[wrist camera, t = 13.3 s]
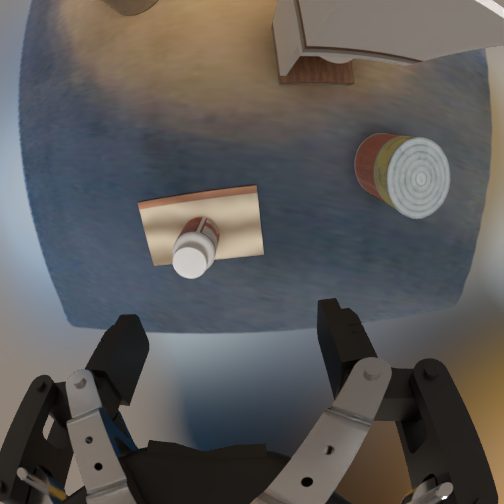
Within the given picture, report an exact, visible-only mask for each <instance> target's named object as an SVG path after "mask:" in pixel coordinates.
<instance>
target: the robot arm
mask: <svg viewBox="0 0 504 504" xmlns="http://www.w3.org/2000/svg"><path fill="white" fill-rule="evenodd" d="M102 1H103V2H104V3H106V4H107V5H109V6H110V7H111V8H113V9H114V10H116V11H117V12H118V13H120V14H122V15H135V14H139V13H141V12H143V11H145V10H147V9H149V8H150V7H151V6H153V5H154V4H155V3H156V2H157V1H158V0H102ZM317 335H318V341H319V345H320V348H321V352H322V356H323V359H324V363H325V366H326V370H327V374H328V378H329V381H330V385H331V389H332V393H333V397H334V400H335V402H334V403H333V405H332V406H331V408H327V409H326V410H325V411H324V413H323V414H322V416H321V417H320V419H319V420H318V422H317V423H316V425H315V426H314V428H313V429H312V431H311V432H310V434H309V435H308V436H307V438H306V439H305V441H304V442H303V444H302V445H301V446H300V448H299V449H298V450H297V452H296V453H295V455H294V456H293V457H290V456H287V455H284V454H281V453H277V452H273V451H267V446H266V444H253V445H234V446H229V447H224V448H219V449H214V450H210V451H200V450H196V449H193V448H189V447H186V446H183V445H180V444H177V443H170V442H161V441H153V440H149V443H148V447H145V448H141V449H138V447H137V446H136V445H135V443H134V441H133V439H132V437H131V435H130V433H129V431H128V428H127V426H126V424H125V422H124V420H123V417H122V415H121V413H120V411H119V410H118V408H119V405H126V406H130V403H131V399H132V397H133V394H134V391H135V388H136V385H137V382H138V379H139V376H140V374H141V371H142V368H143V366H144V363H145V360H146V358H147V355H148V352H149V341H148V338H147V336H146V333H145V331H144V329H143V326H142V324H141V321H140V319H139V317H138V316H137V315H136V314H128V315H120V316H119V318H118V320H117V322H116V323H115V325H112V326H111V327H110V328H109V329H108V330H107V331H106V332H105V333H104V335H103V337H102V338H101V342H99V344H98V346H97V348H96V349H95V351H94V353H93V355H92V356H91V358H90V360H89V362H88V364H87V366H86V368H85V369H81V370H77V371H75V372H74V373H72V374H71V375H70V376H69V377H68V379H67V381H66V382H61V383H54V381H53V380H52V379H51V377H49V376H48V375H41V376H39V377H37V378H36V379H35V380H34V381H33V382H32V383H31V385H30V387H29V389H28V391H27V393H26V394H25V396H24V398H23V401H22V402H21V404H20V407H19V409H18V411H17V413H16V415H15V417H14V419H13V422H12V424H11V426H10V428H9V431H8V433H7V435H6V438H5V441H4V443H3V445H2V448H1V451H0V502H2V503H4V504H353V503H351V502H350V501H348V500H347V499H346V498H344V497H343V496H342V495H340V494H339V493H338V492H336V491H335V488H336V487H337V485H338V483H339V482H340V480H341V479H342V477H343V476H344V474H345V472H346V470H347V469H348V467H349V466H350V464H351V462H352V460H353V458H354V457H355V455H356V453H357V451H358V449H359V447H360V445H361V444H362V442H363V440H364V438H365V436H366V434H367V432H368V430H369V428H370V426H371V424H372V421H373V420H375V421H395V423H396V426H397V429H398V433H399V437H400V440H401V444H402V447H403V452H404V455H405V459H406V463H407V467H408V472H409V476H410V480H411V485H412V491H410V492H409V493H408V494H407V495H406V496H405V497H404V498H403V500H402V502H401V504H498V494H497V491H496V487H495V483H494V480H493V476H492V473H491V470H490V467H489V464H488V461H487V458H486V456H485V452H484V450H483V447H482V444H481V442H480V439H479V437H478V434H477V432H476V429H475V427H474V424H473V422H472V420H471V418H470V415H469V413H468V411H467V409H466V406H465V404H464V402H463V400H462V398H461V396H460V394H459V392H458V390H457V388H456V386H455V384H454V382H453V380H452V378H451V376H450V374H449V372H448V370H447V368H446V367H445V365H444V364H443V363H441V362H440V361H438V360H436V359H423V360H421V361H419V362H418V363H417V364H416V365H415V367H414V369H398V368H392V367H390V366H389V364H388V363H387V362H385V361H384V360H382V359H380V358H378V357H377V355H376V353H375V350H374V348H373V346H372V344H371V342H370V340H369V338H368V336H367V334H366V332H365V330H364V327H363V325H361V321H360V319H359V317H358V315H357V314H356V313H355V312H353V311H352V310H351V309H350V308H345V309H341V308H340V305H339V303H338V301H337V299H336V298H331V299H324V300H319V301H318V314H317ZM48 415H50V416H51V417H52V418H53V419H54V423H53V425H52V428H51V430H50V433H49V436H48V438H47V440H46V439H45V438H44V436H43V427H44V425H45V422H46V420H47V418H48ZM73 453H74V454H75V458H76V461H77V464H78V467H79V470H80V473H81V476H82V479H83V482H84V486H83V487H82V488H80V489H79V490H77V491H76V492H75V493H73V494H72V495H71V496H68V495H66V493H65V489H64V487H65V483H66V479H67V475H68V471H69V467H70V464H71V460H72V457H73Z"/></svg>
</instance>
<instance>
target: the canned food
mask: <svg viewBox="0 0 504 504" xmlns="http://www.w3.org/2000/svg"><path fill="white" fill-rule="evenodd" d="M354 169H355V174H356V177H357V180H358V182H359V183H360V185H361V186H362V187H363V189H364V190H366V191H367V192H368V193H370V194H372V195H374V196H376V197H377V198H379V199H381V200H382V201H384V202H386V203H387V204H389V205H390V206H392V207H393V208H395V209H396V210H398V211H399V212H400V213H401V214H403V215H405V216H406V217H409V218H413V219H421V218H425V217H428V216H430V215H431V214H433V213H434V212H435V211H437V210H438V209H439V207H440V206H441V205H442V203H443V202H444V200H445V198H446V196H447V193H448V190H449V186H450V168H449V163H448V160H447V158H446V156H445V154H444V152H443V151H442V149H441V148H440V147H439V146H438V145H437V144H436V143H435V142H433V141H431V140H429V139H427V138H422V137H410V136H402V135H393V134H387V133H376V134H373V135H371V136H369V137H367V138H366V139H365V140H364V141H363V142H362V143H361V144H360V146H359V147H358V149H357V152H356V155H355V160H354Z"/></svg>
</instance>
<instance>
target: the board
mask: <svg viewBox="0 0 504 504" xmlns="http://www.w3.org/2000/svg"><path fill="white" fill-rule="evenodd" d="M138 206H139V210H140V214H141V218H142V222H143V226H144V230H145V234H146V238H147V242H148V246H149V249H150V253H151V256H152V260H153V264H154V266H156V265H166V264H173V246H174V244H175V242H176V240H177V238H178V236H179V235H180V233H181V231H182V230H183V228H184V226H185V225H186V223H187V222H188V221H189V220H191V219H192V218H195V217H200V216H202V217H207V218H210V219H211V220H213V221H214V222H215V223H216V225H217V226H218V228H219V232H220V237H219V242H218V246H217V250H216V255H215V258H214V260H215V259H225V258H235V257H244V256H254V255H264V251H263V242H262V232H261V223H260V213H259V204H258V195H257V186H256V185H249V186H240V187H232V188H224V189H216V190H209V191H202V192H195V193H188V194H182V195H175V196H169V197H163V198H157V199H152V200H146V201H141V202H138Z"/></svg>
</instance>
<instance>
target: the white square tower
mask: <svg viewBox="0 0 504 504" xmlns="http://www.w3.org/2000/svg"><path fill="white" fill-rule="evenodd" d="M272 33H273V40H274V47H275V54H276V61H277V69H278V77H279V85H300V84H327V85H352V84H354V78H353V70H352V63H351V60H352V59H354V58H355V59H364V60H373V61H380V62H386V63H393V64H398V65H404V66H408V65H411V64H415V63H418V62H422V61H425V60H429V59H433V58H437V57H441V56H446V55H450V54H455V53H460V52H465V51H470V50H476V49H482V48H488V47H496V46H504V8H502V7H501V6H500V5H498V4H497V3H495V2H494V1H492V0H278V2H277V6H276V11H275V15H274V19H273V23H272Z"/></svg>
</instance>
